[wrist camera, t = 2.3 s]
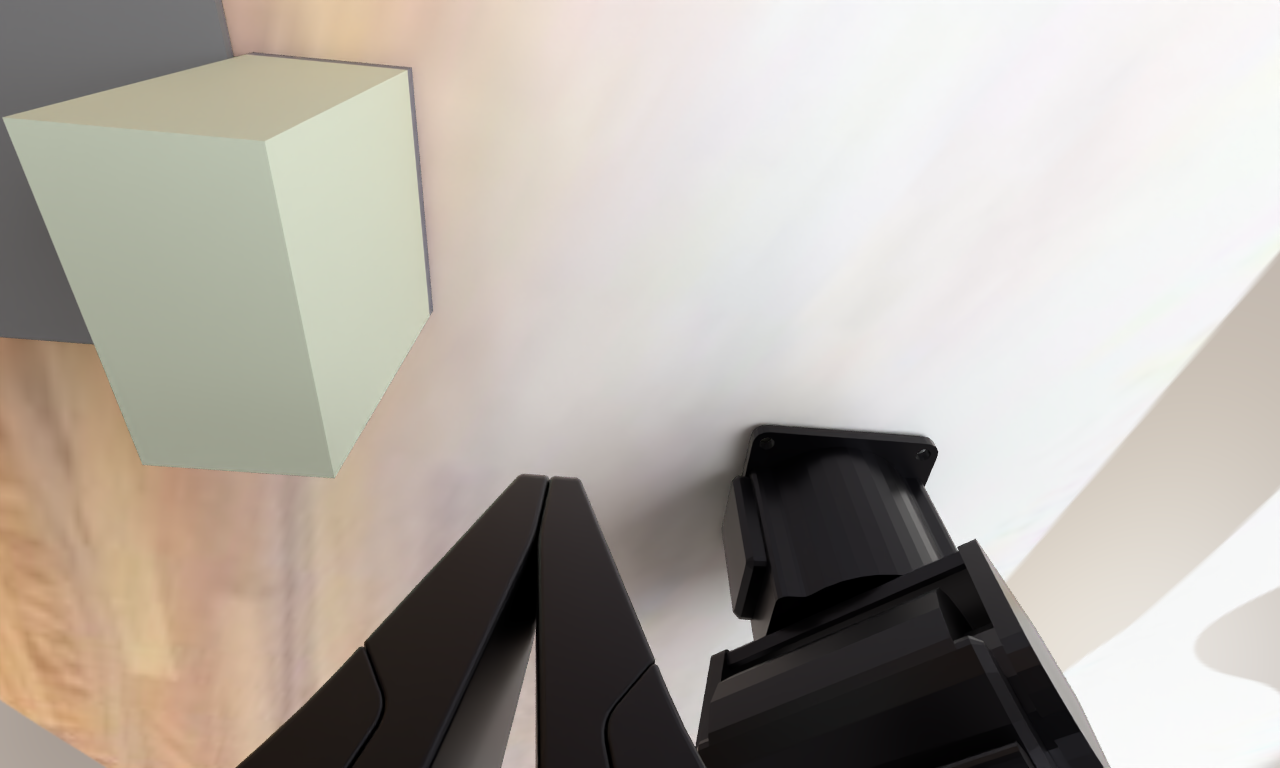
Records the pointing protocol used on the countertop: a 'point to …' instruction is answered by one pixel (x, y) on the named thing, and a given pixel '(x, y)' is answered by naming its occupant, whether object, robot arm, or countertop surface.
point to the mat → (60, 71)
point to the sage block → (241, 251)
